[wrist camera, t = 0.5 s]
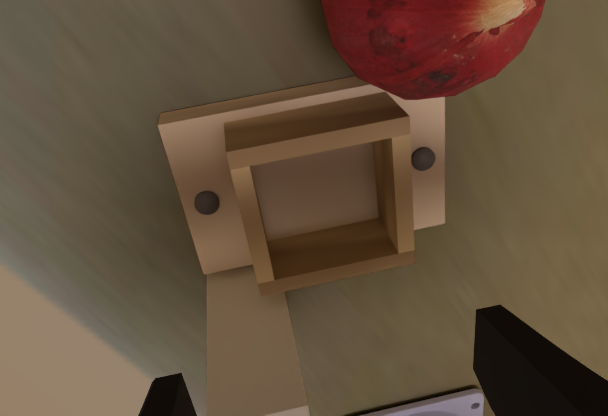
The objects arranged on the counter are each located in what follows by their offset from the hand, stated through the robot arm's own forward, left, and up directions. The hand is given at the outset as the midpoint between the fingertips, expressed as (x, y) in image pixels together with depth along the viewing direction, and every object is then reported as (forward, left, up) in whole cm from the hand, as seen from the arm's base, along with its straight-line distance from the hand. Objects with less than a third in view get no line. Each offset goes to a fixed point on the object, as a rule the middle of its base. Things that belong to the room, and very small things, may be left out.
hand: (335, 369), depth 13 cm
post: (-4, +2, -10) cm, 11 cm away
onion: (+7, -5, -10) cm, 13 cm away
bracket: (+1, -1, -10) cm, 10 cm away
